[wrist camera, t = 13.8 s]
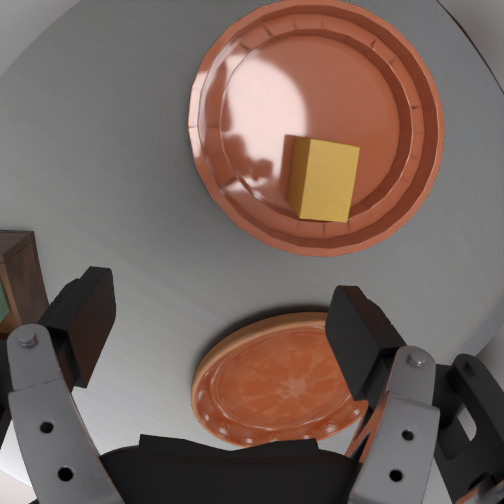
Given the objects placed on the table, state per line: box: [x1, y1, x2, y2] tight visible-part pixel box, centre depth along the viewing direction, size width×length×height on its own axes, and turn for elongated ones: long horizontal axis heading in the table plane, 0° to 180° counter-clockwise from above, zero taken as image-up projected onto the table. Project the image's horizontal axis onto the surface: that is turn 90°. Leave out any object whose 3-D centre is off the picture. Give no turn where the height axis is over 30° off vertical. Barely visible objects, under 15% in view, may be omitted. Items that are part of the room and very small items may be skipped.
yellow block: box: [287, 136, 360, 223], centre depth 22 cm, size 6×4×4 cm, turn 174°
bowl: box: [187, 0, 444, 257], centre depth 21 cm, size 19×19×4 cm
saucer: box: [191, 312, 369, 448], centre depth 32 cm, size 23×23×4 cm
